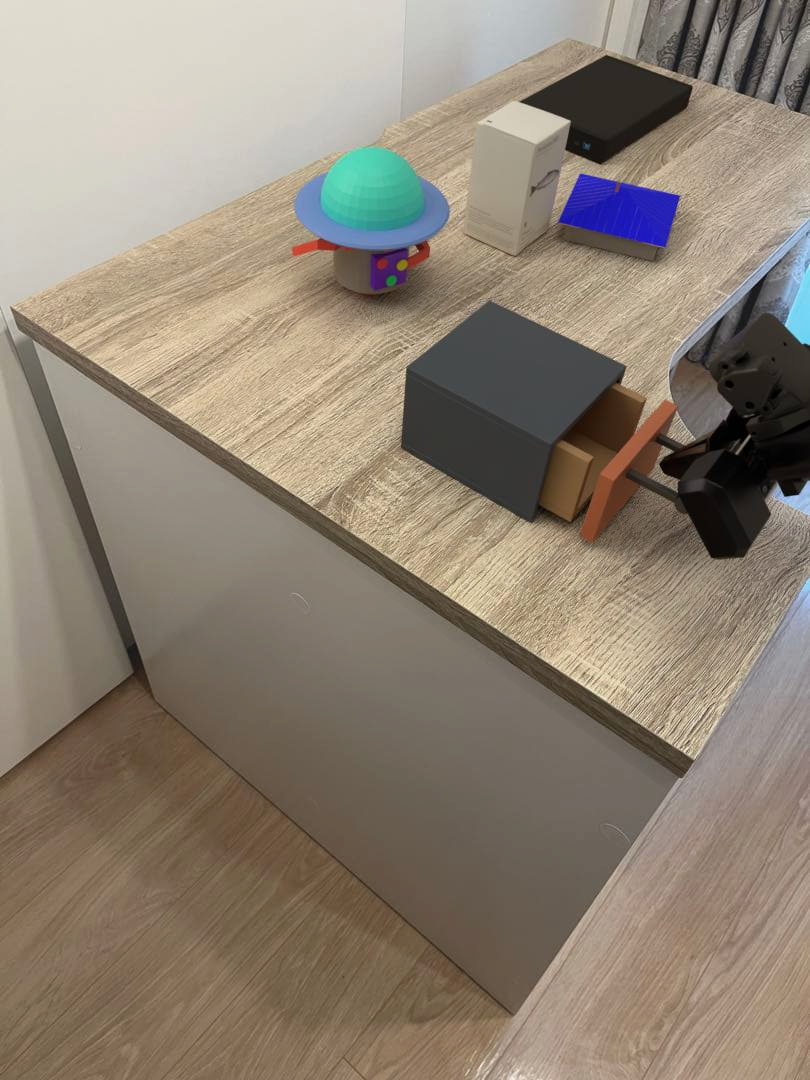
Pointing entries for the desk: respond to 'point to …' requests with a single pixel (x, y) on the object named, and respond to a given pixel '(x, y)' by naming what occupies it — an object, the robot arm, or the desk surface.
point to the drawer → (608, 460)
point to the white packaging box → (514, 176)
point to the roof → (618, 216)
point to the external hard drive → (611, 105)
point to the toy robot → (371, 218)
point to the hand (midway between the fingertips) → (663, 466)
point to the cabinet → (500, 403)
